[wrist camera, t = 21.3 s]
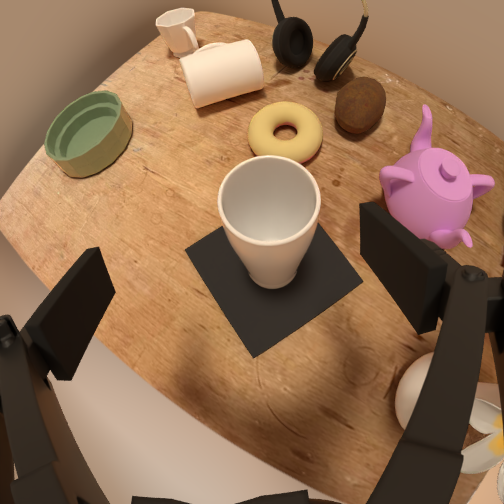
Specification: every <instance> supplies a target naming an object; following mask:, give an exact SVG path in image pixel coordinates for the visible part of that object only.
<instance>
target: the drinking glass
mask: <svg viewBox="0 0 504 504" xmlns="http://www.w3.org/2000/svg"><path fill="white" fill-rule="evenodd" d="M217 204H218V211H219V214H220V218H221V222H222V225H223V228H224V231H225V234H226V236H227V238H228V241H229V242H230V244H231V246H232V248H233V249H234V251H235V253H236V254H237V255H238V257H239V258H240V260H241V261H242V263H243V264H244V266H245V267H246V269H247V271H248V273H249V275H250V277H251V279H252V280H253V281H254V282H255V283H256V284H258V285H259V286H261V287H264V288H267V289H277V288H281V287H284V286H285V285H287V284H288V283H290V282H291V281H292V280H293V278H294V277H295V275H296V273H297V270H298V267H299V265H300V263H301V261H302V259H303V257H304V255H305V254H306V252H307V250H308V248H309V246H310V244H311V242H312V239H313V237H314V234H315V231H316V227H317V223H318V218H319V211H320V205H321V197H320V191H319V187H318V185H317V183H316V181H315V179H314V177H313V176H312V175H311V173H310V172H309V171H308V170H307V169H306V168H305V167H303V166H302V165H301V164H299V163H297V162H295V161H293V160H291V159H289V158H285V157H281V156H274V155H265V156H258V157H254V158H251V159H248V160H246V161H243V162H242V163H240V164H238V165H237V166H236V167H234V168H233V169H232V170H231V171H230V172H229V173H228V174H227V175H226V177H225V178H224V180H223V182H222V184H221V186H220V189H219V192H218V199H217Z"/></svg>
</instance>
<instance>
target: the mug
mask: <svg viewBox="0 0 504 504" xmlns="http://www.w3.org/2000/svg"><path fill="white" fill-rule="evenodd" d="M179 61H180V65H181V68H182V71H183V74H184V77H185V81H186V84H187V87H188V90H189V92H190V95H191V98H192V101H193V104H194V106H195V108H200V107H203V106H206V105H209V104H212V103H215V102H218V101H222V100H225V99H228V98H231V97H235V96H238V95H242V94H245V93H249V92H252V91H256V90H259V89H262V88H263V85H264V75H263V69H262V65H261V61H260V58H259V56H258V53H257V51H256V49H255V47H254V45H253V44H252V42H251V41H249V40H247V39H246V40H242V41H237V42H233V43H230V44H227V43H211V44H208V45H205V46H203V47H201V48H200V49H198V50H197V51H195V52H194V53H193V54H191V55H188V56H185V57H182V58H180V60H179Z"/></svg>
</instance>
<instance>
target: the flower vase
mask: <svg viewBox="0 0 504 504" xmlns="http://www.w3.org/2000/svg"><path fill="white" fill-rule="evenodd" d="M433 354H434V352H431V353H428V354H425V355H423V356H422V357H420V358H419V359H417V360H416V361H414V362H413V363H412V365H411V366H410V367H409V368H408V369H407V370H406V371H405V373H404V375H403V376H402V378H401V380H400V382H399V385H398V388H397V391H396V397H395V410H396V416H397V418H398V421H399V423H400V425H401V427H402V428H403V429H404V430H405V428H406V426H407V424H408V422H409V419H410V417H411V414H412V412H413V409H414V407H415V404H416V402H417V399H418V397H419V394H420V391H421V389H422V386H423V383H424V380H425V378H426V375H427V372H428V369H429V366H430V363H431V360H432V357H433ZM469 424H470V425H471V426H472V427H473V428H475V429H476V430H477V431H479V432H481V433H484V434H488V433H492V434H490V435H489V436H487V437H485V438H483V439H482V440H480V441H478V442H476V443H474V444H472V445H470V446H468V447H466V448H465V449H464V450H462V451H461V454H462V455H464V461H463V464H462V468H461V471H460V472H462V473H466V474H476V473H481V472H484V471H487V470H489V469H491V468H493V467H495V466H496V465H497V464H498V463H499V462H501V460H503V459H504V437H503V423H502V412H501V403H500V395H499V387H498V384H497V383H484V382H478V384H477V389H476V394H475V399H474V404H473V408H472V413H471V417H470V421H469ZM493 432H494V433H493ZM497 490H498V495H499V498H500V499H501V501H502V502H503V504H504V461H503V463H502V465H501V467H500V470H499V473H498V480H497Z"/></svg>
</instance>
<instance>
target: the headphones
mask: <svg viewBox="0 0 504 504" xmlns="http://www.w3.org/2000/svg"><path fill="white" fill-rule="evenodd" d="M362 3H363V7H364V15H363V16H362V19H361V22H360V25H359V27H358V29H357V31H356V32H355V34H354V35H353V36H352V37H351V36H349V35H346V34H344V35H341V36H339V37H338V38H337V39H335V40H334V42H332V44H331V45H330V46H329V47H328V48H327V49H326V51H325V52H324V53H323V55H322V56H321V58H320V59H319V61H318V62H317V64H316V66H315V69H314V74H315V76H316V77H317V78H318V79H320V80H322V81H329V80H335V79H336V78H337V77H338V76H339V75H340V74H342V73H343V71H344V70H345V69H346V68H347V67H348V65H349V64H350V63H351V61H352V60H353V58H354V56H355V54H356V52H357V50H356V44H357V42H358V41H359V39H360V37H361V35H362V34H363V32H364V29H365V28H366V24H367V21H368V17H369V16H368V8H367V4H366V1H365V0H362ZM272 4H273V8H274V12H275V15H276V18H277V21H278V25H277V27H276V28H275V30H274V32H273V36H272V47H273V51H274V53H275V55H276V57H277V58H278V60H279V61H280V62H281V63H282V64H283V65H285V66H288V67H299V66H302V65H303V64H305V63H306V61H307V60H308V59H309V57H310V55H311V52H312V48H313V36H312V32H311V29H310V27H309V26H308V24H307V23H306V22H305V21H304V20H302V19H300V18H297V17H289V18H285V17H284V15H283V12H282V10H281V7H280V4H279V2H278V0H272Z"/></svg>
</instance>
